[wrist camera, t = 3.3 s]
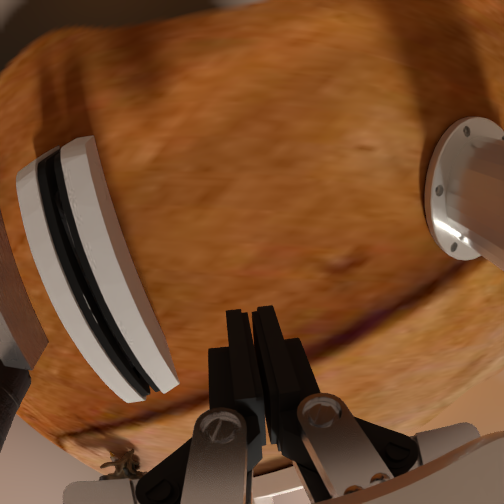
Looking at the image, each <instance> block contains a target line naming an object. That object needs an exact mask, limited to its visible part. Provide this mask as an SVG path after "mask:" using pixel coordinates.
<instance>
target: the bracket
mask: <svg viewBox="0 0 504 504" xmlns="http://www.w3.org/2000/svg"><path fill="white" fill-rule="evenodd" d="M301 488H304V487H303V485H302V483H301V481H300V479H299V476H298V474H297V472H296V470H295V468H294V466H292V467H289V468H286V469H283V470H279V471H276V472H273V473H269V474H265V475H262V476H258V477H254V478H253V494H252V504H274V501H273V498H272V496H276V495H280V494H283V493H287V492H291V491H294V490H298V489H301Z"/></svg>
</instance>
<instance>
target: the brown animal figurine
mask: <svg viewBox="0 0 504 504" xmlns="http://www.w3.org/2000/svg"><path fill="white" fill-rule="evenodd" d="M133 453H134V449H132V450H131V451H129V452H127V453H126V454H124V456H123V457H122V458H121V459H118V458H117V457H116V456H115V455H113V454H112V452H110V455H111V457H110V458H111V460H112V462H107V463H104V464H103V465H101V466H100V468H105V467H109V466H115V468H116V470H115V472H114V473H111V474H108V475H103V476H101V477H100V480H99V481H102V480H115V479H125V478H129V479H130V480H136V479H141V478H142V477H143V476H144V475H145V474H146V473H148V472H140V471H137V470H136V469H135V467H134V464H135V465H140V464H139V463H138V462H135V461H133V460H132V456H133Z"/></svg>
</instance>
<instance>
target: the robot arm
mask: <svg viewBox="0 0 504 504" xmlns="http://www.w3.org/2000/svg"><path fill="white" fill-rule="evenodd" d="M425 212H426V220H427V223H428V227H429V230H430V233H431V235H432V237H433V239H434V241H435V242H436V244H437V245H438V246H439V247H440V248H441V249H442V250H443V251H444V252H446V253H447V254H448V255H450V256H451V257H454V258H456V259H458V260H471V259H475V258H477V257H479V256H481V255H482V256H483V257H485V258H486V259H487V260H489V261H490V262H492V263H493V264H494V265H496V266H497V267H499V268H500V269H501V270H503V271H504V131H503V130H502V129H501V127H499V126H498V125H497V124H496V123H495V122H493V121H491V120H489V119H487V118H482V117H465V118H462V119H460V120H458V121H456V122H455V123H454V124H452V125H451V126H450V127H449V128H448V129H447V130H446V132H445V133H444V134H443V135H442V137H441V138H440V140H439V142H438V144H437V145H436V147H435V150H434V152H433V155H432V157H431V160H430V164H429V168H428V172H427V176H426V184H425ZM226 319H227V330H228V341H229V347H220V348H209V349H208V367H209V405H210V410H207V411H206V412H204V413H203V414H201V415H200V416H199V418H198V419H197V420H196V423H195V425H194V430H193V436H192V438H191V439H189V440H188V441H187V442H186V443H184V444H183V445H182V446H181V447H180V448H178V449H177V450H176V451H175V452H173V453H172V454H171V455H170V456H168V457H167V458H166V459H165V460H163V461H162V462H161V463H159V464H158V465H157V466H156V467H154V468H153V469H152V470H150V471H149V472H148V473H146V474H145V475H144V476H143V477H142V478H141V479H136V480H130V479H129V478H125V479H115V480H102V481H79V482H73V483H71V484H69V485H68V486H67V487H66V488H65V490H64V492H63V504H252V494H253V468H254V467H255V466H256V465H257V463H258V462H259V461H260V460H261V459H262V446H264V445H266V431H265V418H266V423H267V428H268V433H269V438H270V442H271V444H277V447H278V451H281V452H282V455H283V456H285V457H287V458H289V459H291V460H292V463H293V466H294V468H295V470H296V472H297V474H298V476H299V479H300V481H301V483H302V485H303V487H304V489H305V491H306V493H307V496H308V497H309V500H310V502H311V504H504V431H500V432H494V433H491V434H487V435H484V436H482V437H480V434H479V432H478V430H477V428H476V427H475V426H473V425H472V424H470V423H458V424H454V425H451V426H447V427H442V428H438V429H434V430H429V431H424V432H420V433H416V434H415V435H414V436H410V437H409V436H406V435H404V434H401V433H398V432H395V431H392V430H389V429H387V428H384V427H381V426H378V425H375V424H372V423H370V422H367V421H364V420H362V419H359V418H356V417H354V416H353V415H352V413H351V412H350V410H349V409H348V407H347V406H346V404H345V403H344V402H343V401H342V400H341V399H340V398H338V397H337V396H335V395H332V394H328V393H321V392H320V390H319V387H318V385H317V382H316V379H315V377H314V374H313V372H312V369H311V367H310V364H309V361H308V359H307V356H306V354H305V351H304V349H303V346H302V343H301V341H300V339H299V338H292V339H285V340H284V338H283V335H282V332H281V329H280V326H279V323H278V320H277V317H276V314H275V311H274V308H273V306H272V305H271V306H263V307H257V311H254V312H252V322H253V336H254V344H253V339H252V334H251V329H250V323H249V318H248V313H247V312H246V313H241V309H236V310H227V311H226Z"/></svg>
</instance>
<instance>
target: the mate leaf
mask: <svg viewBox="0 0 504 504" xmlns="http://www.w3.org/2000/svg"><path fill="white" fill-rule="evenodd" d="M48 343H49V341H48V339H47V337H46V335H45V333H44V331H43V329H42V327H41V325H40V323H39V321H38V318H37V316H36V314H35V312H34V310H33V307H32V305H31V303H30V300H29V298H28V295H27V293H26V290H25V288H24V285H23V283H22V280H21V277H20V275H19V272H18V269H17V266H16V263H15V260H14V257H13V254H12V251H11V248H10V245H9V241H8V238H7V234H6V231H5V227H4V223H3V219H2V215H1V211H0V359H1V361H2V362H3V364H4V365H5V366H8V367H14V368H20V369H27V370H33V368H34V367H35V365H36V363H37V361H38V360H39V358H40V356H41V354H42V353H43V351H44V349H45V348H46V346H47V344H48Z"/></svg>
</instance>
